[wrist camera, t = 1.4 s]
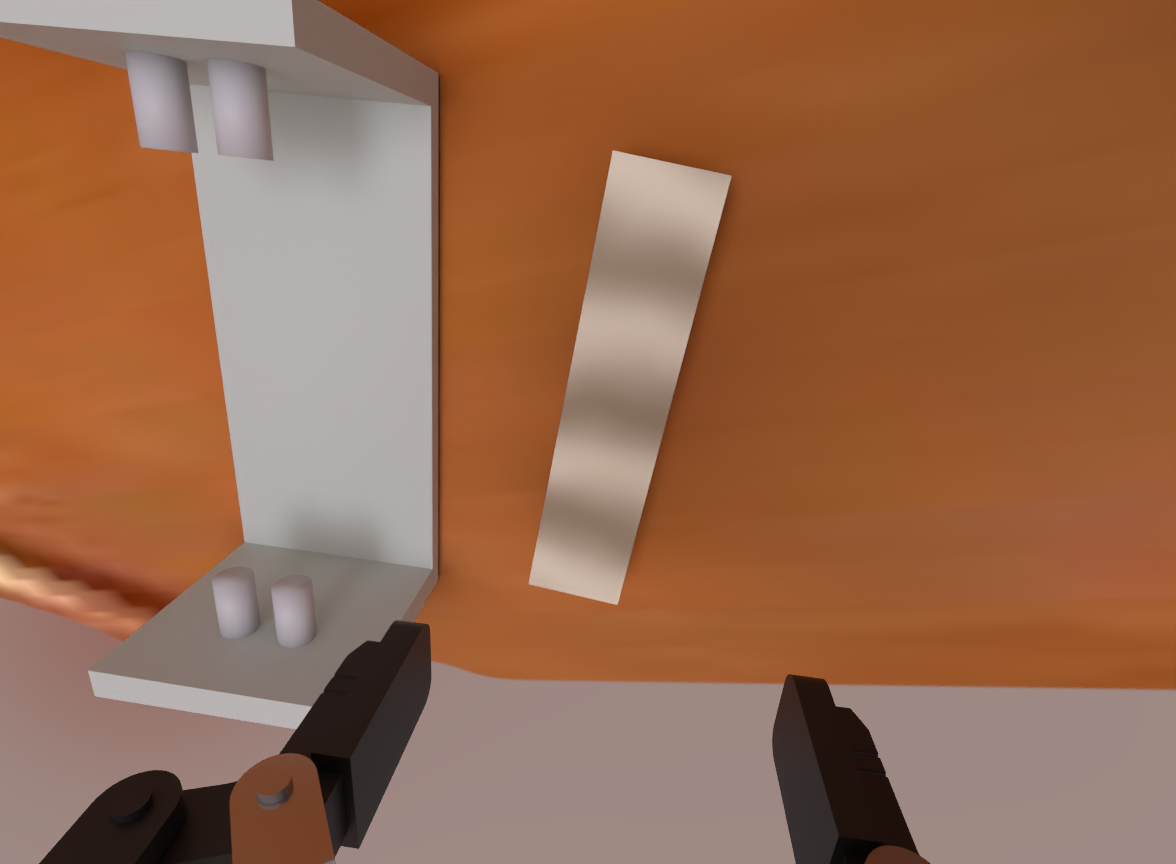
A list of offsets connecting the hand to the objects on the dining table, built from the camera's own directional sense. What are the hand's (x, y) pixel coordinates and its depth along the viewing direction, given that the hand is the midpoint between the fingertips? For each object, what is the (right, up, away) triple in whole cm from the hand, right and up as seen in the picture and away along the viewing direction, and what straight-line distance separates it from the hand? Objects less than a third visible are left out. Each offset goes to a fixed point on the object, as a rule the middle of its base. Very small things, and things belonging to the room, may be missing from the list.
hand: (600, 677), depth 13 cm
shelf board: (+1, +8, +19) cm, 21 cm away
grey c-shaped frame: (-14, +10, +20) cm, 26 cm away
